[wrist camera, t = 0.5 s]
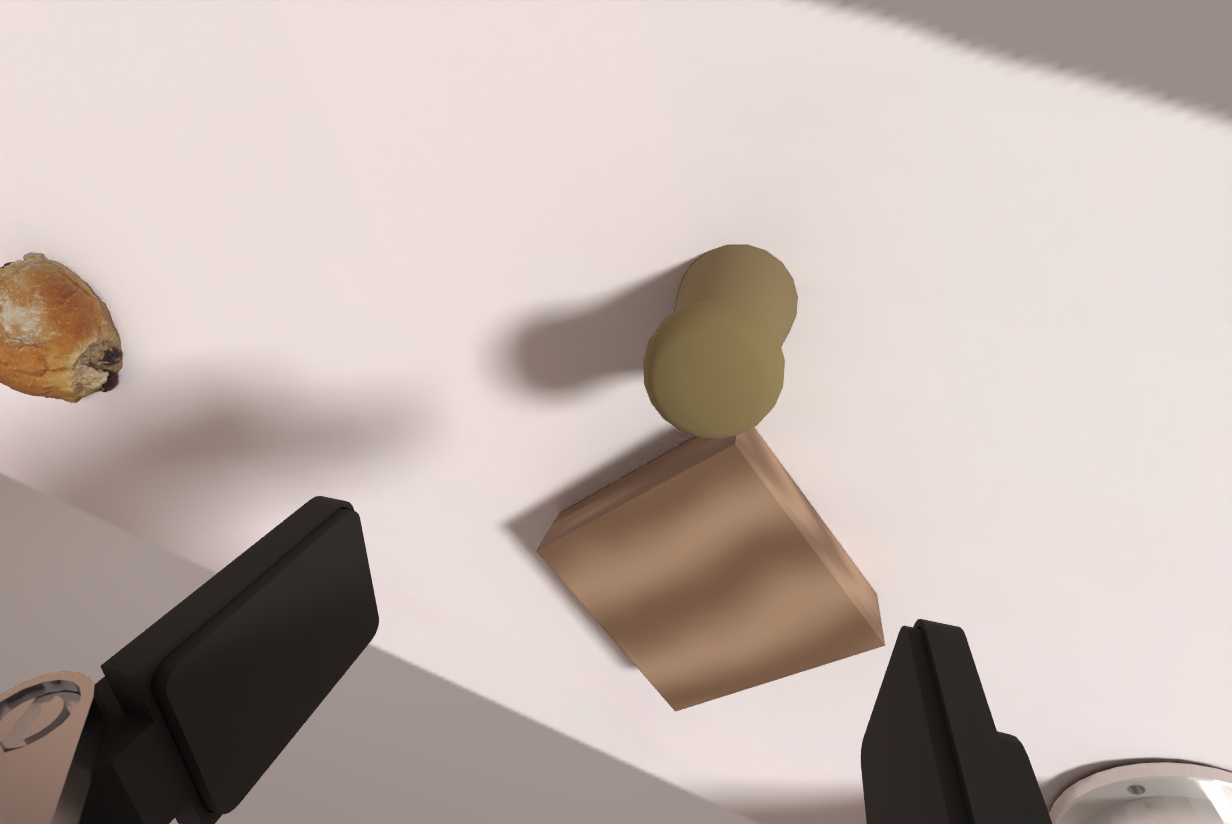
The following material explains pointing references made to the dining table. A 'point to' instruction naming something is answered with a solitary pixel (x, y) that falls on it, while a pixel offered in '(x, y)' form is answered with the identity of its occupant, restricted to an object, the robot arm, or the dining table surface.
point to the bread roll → (54, 332)
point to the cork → (723, 343)
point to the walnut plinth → (714, 571)
